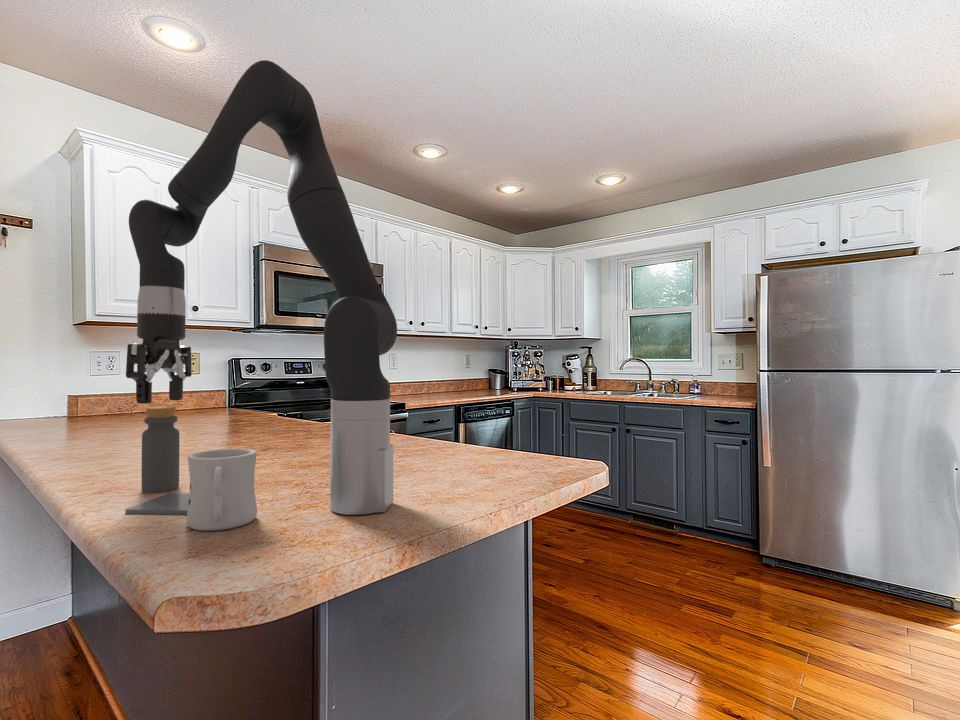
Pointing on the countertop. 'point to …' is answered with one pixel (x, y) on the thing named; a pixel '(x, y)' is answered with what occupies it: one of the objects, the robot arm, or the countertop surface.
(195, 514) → the mug
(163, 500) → the coaster
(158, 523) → the countertop surface
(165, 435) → the bottle
